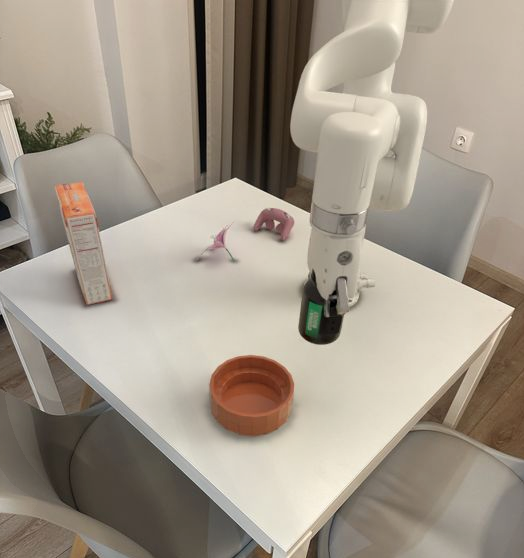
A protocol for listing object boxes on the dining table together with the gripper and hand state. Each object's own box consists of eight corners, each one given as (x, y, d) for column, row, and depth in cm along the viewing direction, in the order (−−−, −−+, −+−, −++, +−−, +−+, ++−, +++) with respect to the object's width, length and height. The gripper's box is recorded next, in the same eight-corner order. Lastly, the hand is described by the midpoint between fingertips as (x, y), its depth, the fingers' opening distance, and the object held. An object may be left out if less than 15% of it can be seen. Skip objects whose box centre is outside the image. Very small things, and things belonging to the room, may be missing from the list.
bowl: (281, 372, 97) (283, 351, 93) (300, 432, 87) (303, 410, 83) (205, 381, 94) (204, 359, 90) (216, 443, 84) (215, 421, 80)
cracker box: (73, 271, 117) (53, 184, 103) (100, 266, 119) (83, 180, 105) (84, 306, 108) (63, 216, 94) (113, 300, 110) (96, 211, 96)
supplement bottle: (312, 351, 79) (322, 287, 71) (289, 325, 84) (296, 262, 76) (348, 338, 82) (362, 276, 74) (324, 314, 86) (335, 252, 78)
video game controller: (290, 241, 135) (298, 215, 132) (283, 241, 130) (291, 214, 128) (259, 230, 138) (266, 204, 136) (250, 229, 134) (258, 202, 132)
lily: (234, 244, 131) (216, 212, 126) (260, 248, 122) (242, 213, 117) (200, 273, 127) (179, 241, 122) (224, 279, 118) (203, 245, 113)
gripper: (388, 246, 63) (362, 352, 75) (345, 184, 76) (328, 283, 88) (330, 250, 62) (313, 357, 74) (295, 186, 74) (285, 287, 86)
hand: (321, 316), depth 81 cm, fingers closed on supplement bottle, 6 cm apart
